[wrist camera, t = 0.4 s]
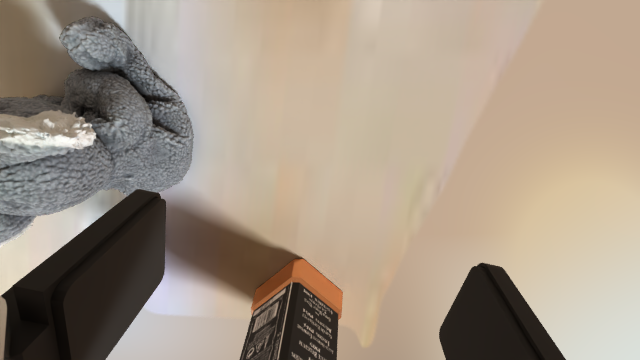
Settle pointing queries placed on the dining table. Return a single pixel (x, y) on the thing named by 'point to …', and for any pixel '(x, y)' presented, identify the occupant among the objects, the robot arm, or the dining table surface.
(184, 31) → the dining table surface
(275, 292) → the whiskey bottle
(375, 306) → the dining table surface
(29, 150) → the koala plush
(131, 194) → the robot arm
